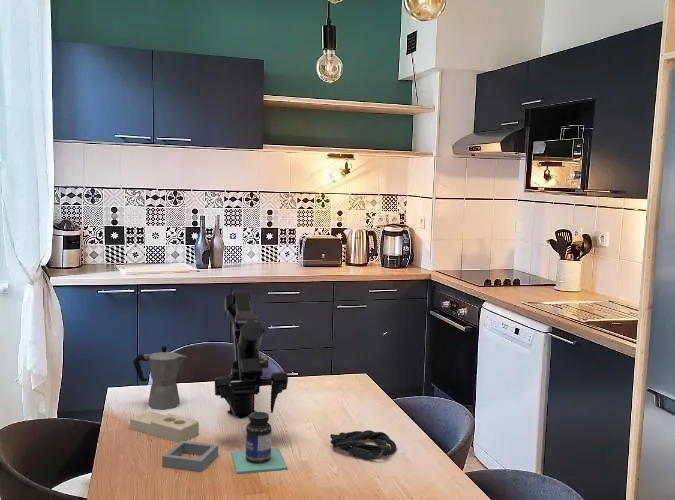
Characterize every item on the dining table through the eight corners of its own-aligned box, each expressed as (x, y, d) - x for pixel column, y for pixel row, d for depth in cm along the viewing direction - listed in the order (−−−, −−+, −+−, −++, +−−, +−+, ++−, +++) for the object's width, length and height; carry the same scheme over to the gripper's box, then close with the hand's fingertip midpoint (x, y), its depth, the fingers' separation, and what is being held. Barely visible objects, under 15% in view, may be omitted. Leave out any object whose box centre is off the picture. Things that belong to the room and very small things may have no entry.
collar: (181, 450, 165) (181, 440, 165) (218, 454, 163) (218, 445, 163) (162, 466, 156) (162, 456, 155) (201, 471, 154) (201, 461, 153)
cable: (319, 451, 168) (319, 434, 168) (344, 433, 180) (345, 418, 180) (380, 466, 160) (381, 449, 160) (402, 446, 172) (403, 430, 172)
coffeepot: (186, 398, 204) (187, 341, 202) (186, 409, 195) (186, 349, 193) (134, 400, 201) (134, 342, 199) (132, 411, 192) (131, 350, 190)
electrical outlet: (149, 407, 185) (199, 420, 176) (149, 422, 185) (199, 435, 176) (130, 415, 178) (180, 429, 170) (130, 430, 179) (180, 444, 170)
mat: (231, 453, 164) (231, 451, 164) (278, 449, 168) (278, 447, 168) (236, 473, 153) (236, 471, 153) (287, 469, 156) (287, 467, 156)
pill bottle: (241, 456, 161) (242, 412, 160) (264, 451, 165) (264, 408, 163) (252, 466, 156) (252, 420, 155) (275, 460, 159) (276, 416, 158)
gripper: (213, 347, 168) (216, 404, 159) (286, 341, 172) (293, 397, 163) (213, 367, 177) (216, 422, 168) (283, 362, 181) (289, 415, 171)
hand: (253, 414), depth 167 cm, fingers open, 9 cm apart
